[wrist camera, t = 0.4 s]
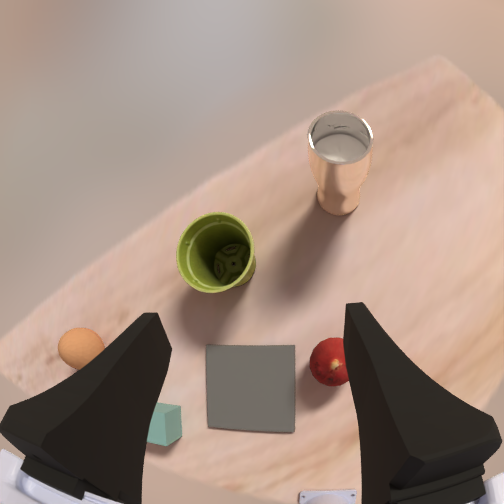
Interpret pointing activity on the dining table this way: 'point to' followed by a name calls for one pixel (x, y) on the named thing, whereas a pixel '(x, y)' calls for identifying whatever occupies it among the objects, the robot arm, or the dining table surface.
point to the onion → (329, 362)
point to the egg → (79, 347)
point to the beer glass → (339, 159)
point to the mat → (251, 387)
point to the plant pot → (216, 253)
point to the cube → (165, 424)
